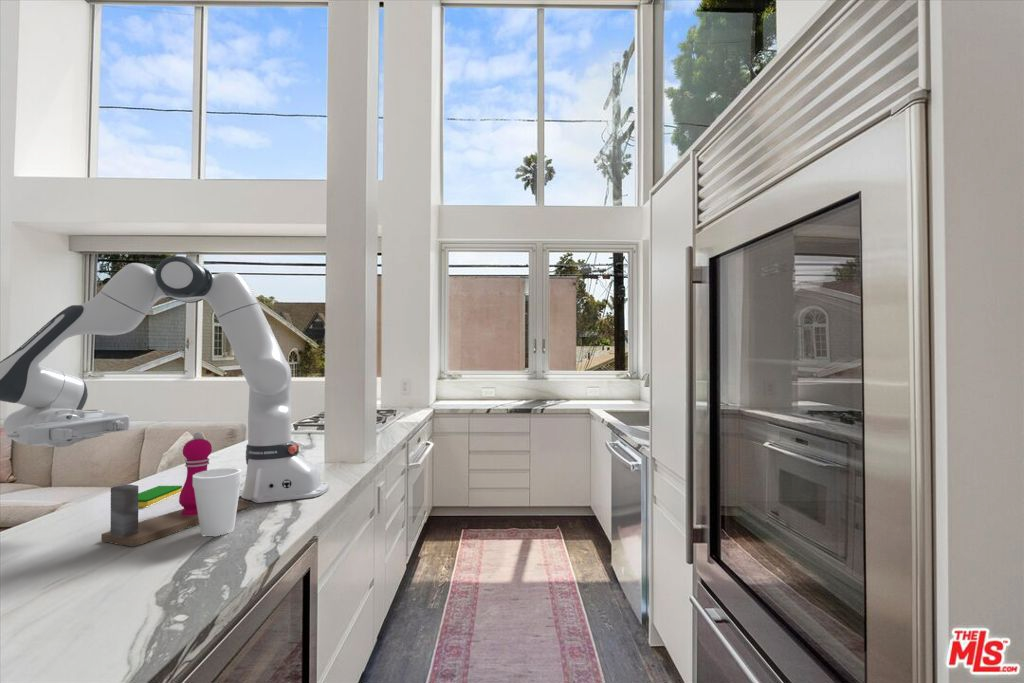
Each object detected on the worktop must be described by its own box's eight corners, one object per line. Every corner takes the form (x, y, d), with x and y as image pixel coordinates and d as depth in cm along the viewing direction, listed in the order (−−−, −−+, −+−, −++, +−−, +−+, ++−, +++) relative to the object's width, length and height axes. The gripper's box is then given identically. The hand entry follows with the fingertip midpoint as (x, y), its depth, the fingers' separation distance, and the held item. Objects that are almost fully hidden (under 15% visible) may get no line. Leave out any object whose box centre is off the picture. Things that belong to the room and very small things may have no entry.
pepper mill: (198, 520, 118) (199, 434, 119) (171, 520, 119) (172, 434, 120) (221, 512, 125) (221, 430, 126) (194, 511, 126) (195, 430, 127)
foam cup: (250, 527, 115) (250, 470, 115) (211, 542, 106) (211, 479, 106) (222, 522, 119) (222, 466, 119) (183, 535, 110) (183, 475, 110)
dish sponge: (183, 493, 144) (183, 485, 145) (146, 509, 131) (146, 499, 131) (158, 494, 145) (158, 485, 145) (119, 509, 131) (119, 499, 131)
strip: (220, 503, 133) (220, 459, 133) (248, 507, 130) (248, 462, 130) (101, 540, 107) (101, 486, 107) (132, 547, 104) (132, 490, 104)
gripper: (2, 420, 108) (40, 422, 103) (107, 408, 127) (144, 409, 123) (2, 450, 108) (41, 453, 103) (108, 433, 127) (145, 435, 122)
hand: (98, 429), depth 113 cm, fingers open, 8 cm apart
